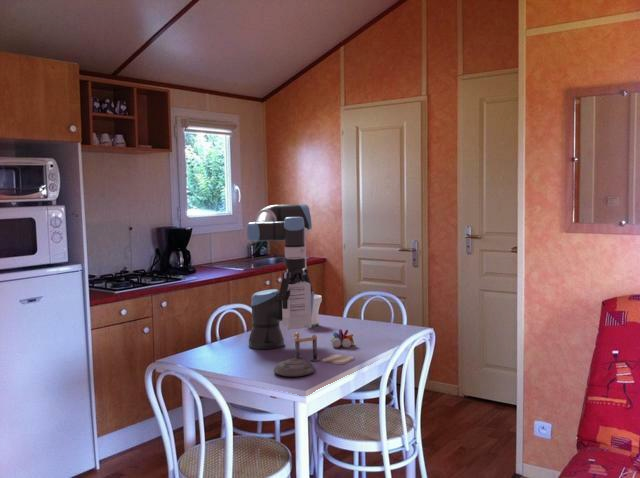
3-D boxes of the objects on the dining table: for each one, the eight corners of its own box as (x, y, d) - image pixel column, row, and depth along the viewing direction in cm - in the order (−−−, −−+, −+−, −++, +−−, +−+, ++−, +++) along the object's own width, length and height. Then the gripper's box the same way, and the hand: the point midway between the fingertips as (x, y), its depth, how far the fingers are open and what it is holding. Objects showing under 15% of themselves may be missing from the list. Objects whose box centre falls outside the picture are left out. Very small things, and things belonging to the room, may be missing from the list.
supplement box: (282, 324, 235) (280, 281, 234) (305, 322, 238) (303, 279, 236) (288, 330, 226) (287, 284, 225) (312, 327, 229) (311, 283, 227)
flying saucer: (288, 382, 210) (288, 366, 209) (265, 372, 222) (265, 357, 222) (323, 374, 219) (323, 359, 218) (300, 365, 231) (299, 350, 230)
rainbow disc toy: (352, 349, 251) (352, 331, 251) (329, 348, 253) (329, 331, 253) (355, 344, 260) (355, 327, 259) (333, 343, 262) (332, 326, 261)
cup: (326, 324, 299) (326, 295, 298) (314, 328, 290) (313, 299, 289) (307, 321, 305) (306, 293, 304) (295, 326, 296) (294, 297, 295)
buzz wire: (282, 362, 234) (281, 336, 233) (296, 356, 242) (295, 331, 241) (308, 366, 228) (307, 340, 227) (321, 359, 236) (320, 334, 235)
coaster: (322, 361, 233) (322, 359, 233) (333, 356, 241) (333, 354, 241) (342, 364, 229) (342, 362, 229) (354, 358, 236) (354, 356, 236)
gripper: (284, 261, 217) (286, 320, 219) (320, 255, 239) (321, 309, 240) (267, 261, 221) (269, 319, 223) (304, 254, 242) (305, 307, 244)
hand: (296, 314), depth 231 cm, fingers closed on supplement box, 13 cm apart
